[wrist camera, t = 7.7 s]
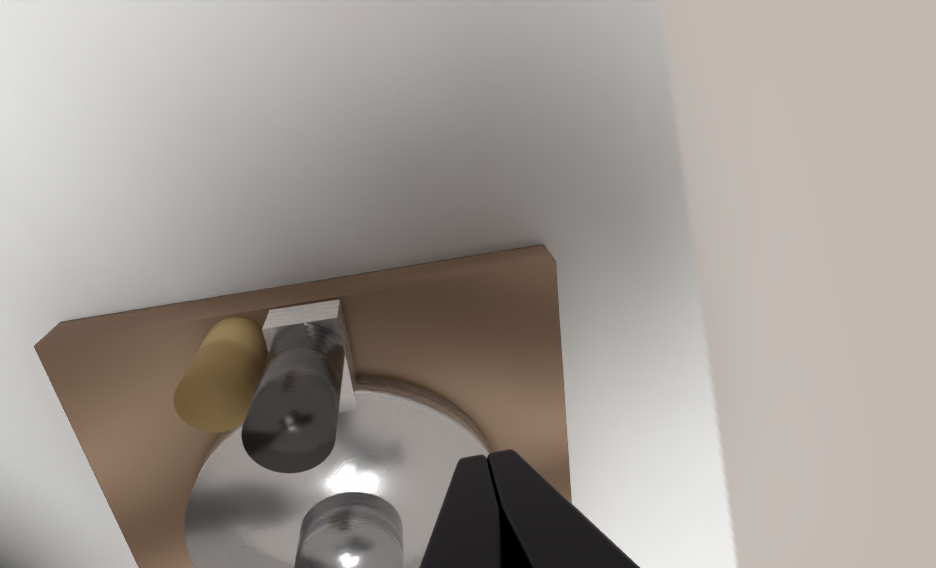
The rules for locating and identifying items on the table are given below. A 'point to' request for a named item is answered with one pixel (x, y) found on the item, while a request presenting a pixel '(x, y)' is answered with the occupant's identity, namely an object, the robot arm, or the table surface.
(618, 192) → the table surface
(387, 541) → the flange
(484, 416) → the base plate
